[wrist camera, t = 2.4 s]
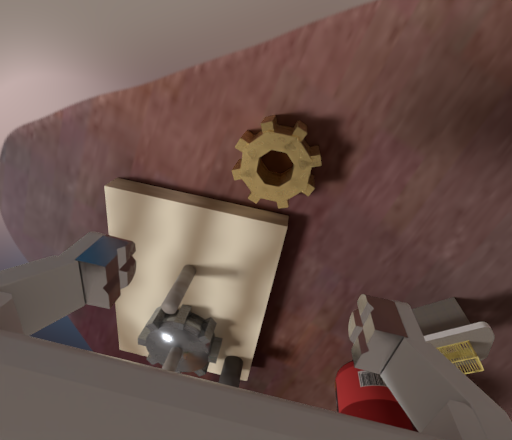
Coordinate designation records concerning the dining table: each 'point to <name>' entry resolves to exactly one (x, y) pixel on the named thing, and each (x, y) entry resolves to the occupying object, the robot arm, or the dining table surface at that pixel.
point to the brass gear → (272, 182)
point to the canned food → (368, 398)
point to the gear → (181, 339)
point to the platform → (454, 332)
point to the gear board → (196, 267)
